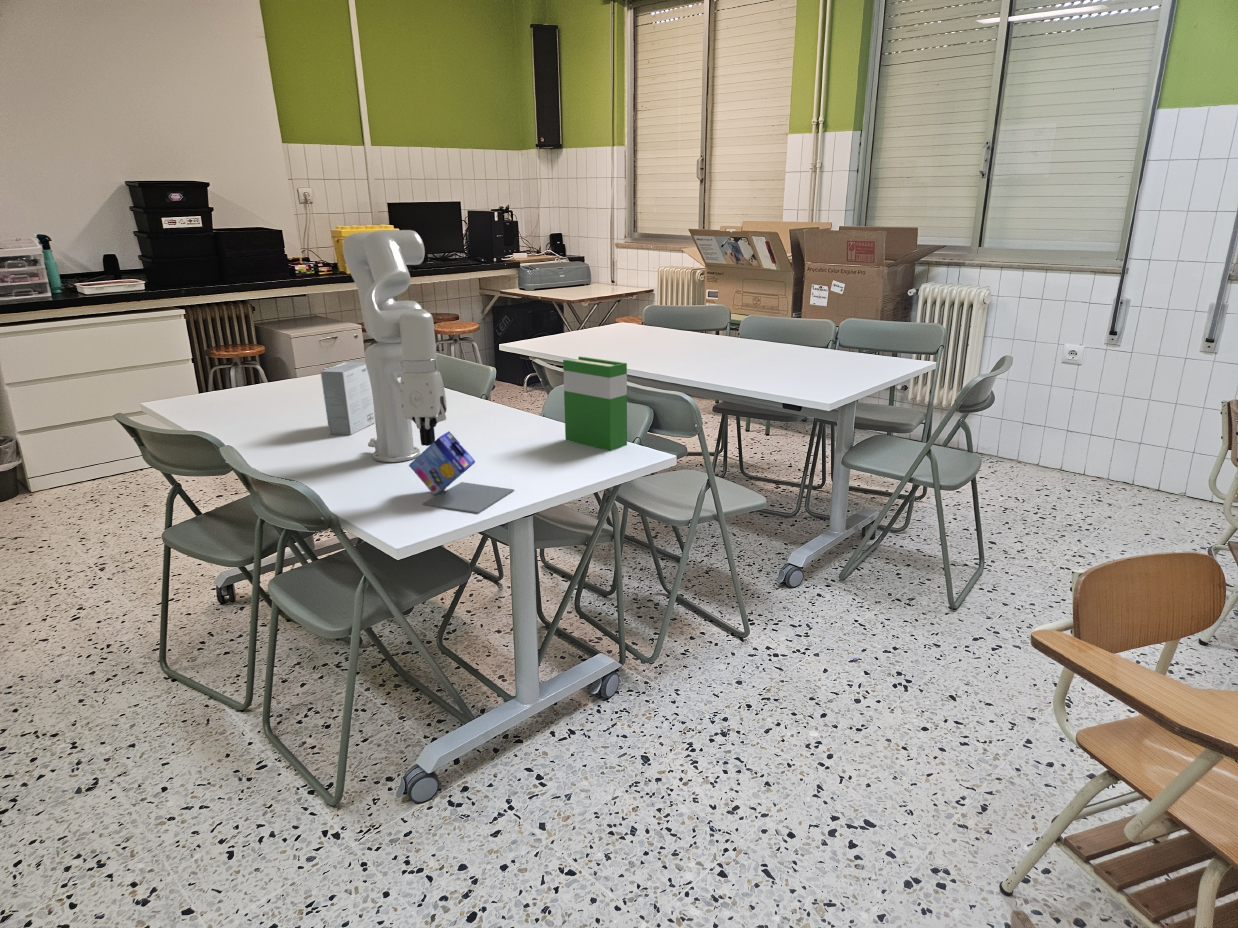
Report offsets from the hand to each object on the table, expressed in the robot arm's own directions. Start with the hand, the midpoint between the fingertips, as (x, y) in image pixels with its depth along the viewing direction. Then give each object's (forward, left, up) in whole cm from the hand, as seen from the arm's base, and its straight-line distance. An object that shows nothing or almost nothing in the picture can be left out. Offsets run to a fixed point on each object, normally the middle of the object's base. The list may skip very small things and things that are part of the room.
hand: (428, 444), depth 179 cm
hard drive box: (-59, +41, -13) cm, 73 cm away
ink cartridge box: (-2, +1, -9) cm, 9 cm away
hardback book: (+19, +54, -13) cm, 59 cm away
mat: (+10, +1, -12) cm, 16 cm away
